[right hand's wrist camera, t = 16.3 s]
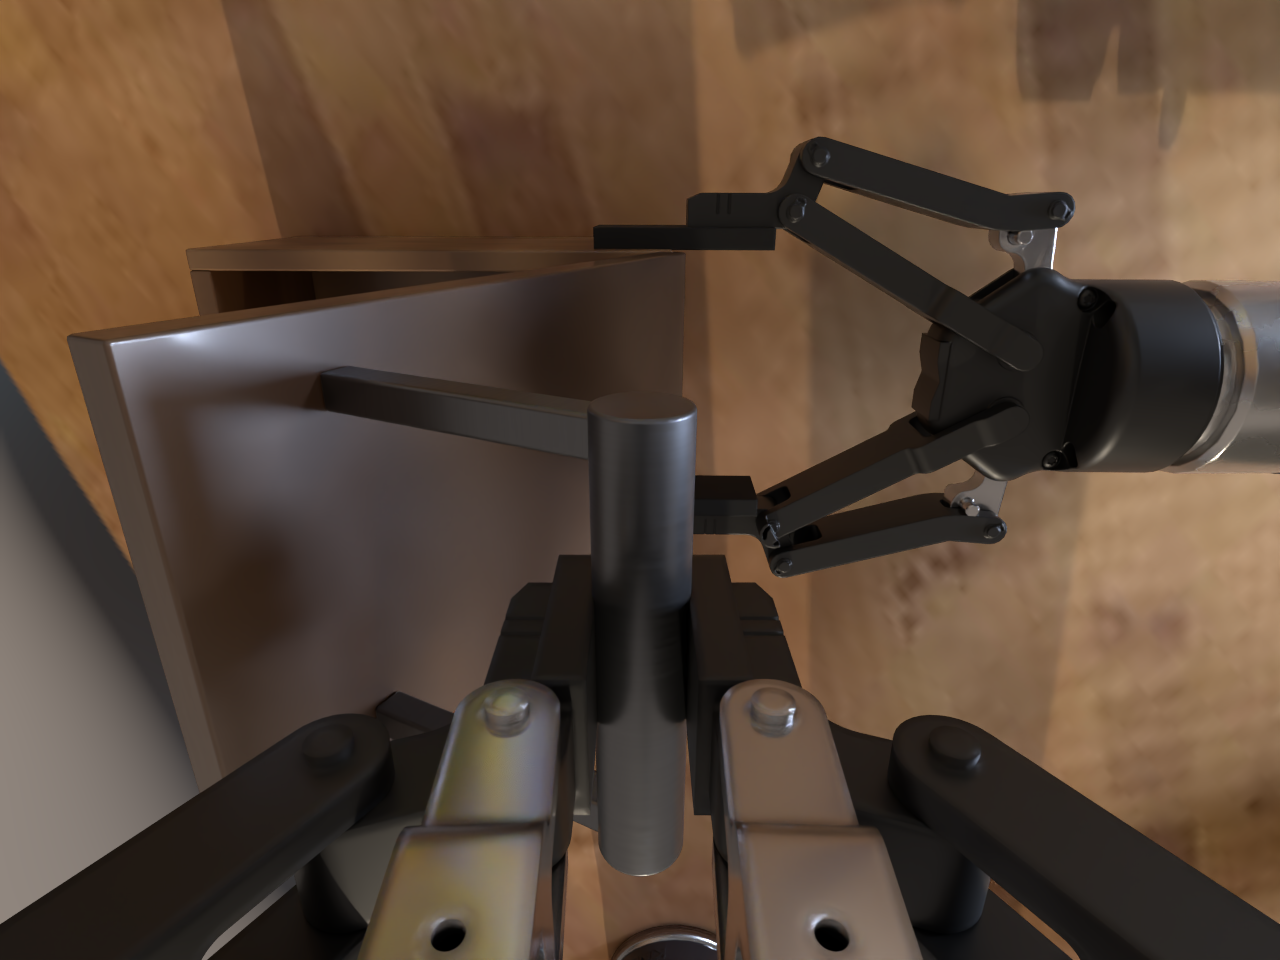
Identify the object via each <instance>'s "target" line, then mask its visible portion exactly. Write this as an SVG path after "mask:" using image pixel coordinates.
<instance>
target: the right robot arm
mask: <svg viewBox="0 0 1280 960" xmlns="http://www.w3.org/2000/svg"><path fill="white" fill-rule="evenodd" d="M597 724H598V714H597V677H596V639H595V601H594V599H593V597H592V578H591V555H559V556H558V560H557V565H556V569H555V574H554V578H553V582H530V583H527V584H526V585H525V586H524V587H523V588H522V589H521V590H520V591H518V592H517V593H516V594H515V595H514V596H513V597H512V598H511V600H510V603H509V607H508V610H507V613H506V616H505V620H504V622H503V625H502V629H501V635H500V636H499V638H498V641H497V644H496V648H495V651H494V654H493V657H492V660H491V663H490V666H489V670H488V673H487V676H486V679H485V682H484V685H483V686H481V687H479V688H477V689H476V690H474V691H472V692H471V693H470V694H468V695H467V696H466V697H465V698H464V699H463V700H462V701H461V702H460V703H459V705H458V706H457V708H456V710H455V713H454V716H453V719H452V722H451V723H450V724H448V725H446V726H444V727H441V728H439V729H436V730H433V731H429V732H426V733H422V734H418V735H413V736H409V737H405V738H400V739H396V740H392V741H390V737H389V732H388V730H387V728H386V726H385V725H384V724H383V723H382V722H381V721H379V720H378V719H376V718H374V717H371V716H368V715H364V714H355V713H348V714H338V715H332V716H328V717H324V718H321V719H318V720H315V721H313V722H311V723H308V724H306V725H304V726H302V727H301V728H299V729H297V730H296V731H294V732H292V733H291V734H289V735H288V736H286V737H285V738H283V739H282V740H280V741H279V742H277V743H276V744H274V745H273V746H271V747H270V748H268V749H267V750H265V751H263V752H262V753H260V754H259V755H257V756H256V757H254V758H253V759H251V760H250V761H248V762H247V763H245V764H244V765H242V766H241V767H239V768H238V769H236V770H235V771H233V772H232V773H230V774H228V775H227V776H225V777H224V778H222V779H221V780H219V781H218V782H216V783H215V784H213V785H212V786H210V787H209V788H207V789H206V790H204V791H203V792H201V793H200V794H198V795H196V796H195V797H193V798H192V799H190V800H189V801H187V802H186V803H184V804H183V805H181V806H180V807H178V808H177V809H175V810H174V811H172V812H171V813H169V814H168V815H166V816H164V817H163V818H161V819H160V820H158V821H157V822H155V823H154V824H152V825H151V826H149V827H148V828H146V829H145V830H143V831H142V832H140V833H139V834H137V835H136V836H134V837H132V838H131V839H129V840H128V841H126V842H125V843H123V844H122V845H120V846H119V847H117V848H116V849H114V850H113V851H111V852H110V853H108V854H107V855H105V856H104V857H102V858H101V859H99V860H97V861H96V862H94V863H93V864H91V865H90V866H88V867H87V868H85V869H84V870H82V871H81V872H79V873H78V874H76V875H75V876H73V877H72V878H70V879H69V880H67V881H66V882H64V883H63V884H61V885H59V886H58V887H56V888H55V889H53V890H52V891H50V892H49V893H47V894H46V895H44V896H43V897H41V898H40V899H38V900H37V901H35V902H33V903H32V904H31V905H29V906H27V907H26V908H24V909H23V910H21V911H20V912H18V913H17V914H15V915H14V916H12V917H11V918H9V919H8V920H6V921H5V922H3V923H1V924H0V960H202V958H203V956H204V955H205V953H206V952H207V950H208V949H209V947H210V946H211V945H212V944H213V942H214V941H215V940H216V939H217V938H218V937H219V936H220V935H221V934H223V933H224V932H225V931H226V930H227V929H228V928H230V927H231V926H232V925H233V924H234V923H236V922H237V921H238V920H239V919H240V918H242V917H243V916H244V915H245V914H246V913H248V912H249V911H250V910H251V909H252V908H254V907H255V906H256V905H257V904H259V903H260V902H261V901H262V900H263V899H265V898H266V897H267V896H268V895H269V894H271V893H272V892H273V891H274V890H275V889H277V888H278V887H279V886H280V885H281V884H283V883H284V882H285V881H286V880H287V879H288V878H290V877H291V876H292V875H293V874H294V877H295V881H296V885H295V886H294V887H293V888H292V889H290V890H289V891H288V892H287V893H286V894H284V895H283V896H282V897H281V898H280V899H279V900H277V901H276V902H275V903H274V904H273V905H271V906H270V907H269V908H268V909H267V910H265V911H264V912H263V913H262V914H261V915H260V916H258V917H257V918H256V919H255V920H254V921H252V922H251V923H250V924H249V925H248V926H247V927H245V928H244V929H243V930H242V931H241V932H239V933H238V934H237V935H236V936H235V937H234V938H232V939H231V940H230V941H229V942H228V943H227V944H225V945H224V946H223V947H222V948H221V949H219V950H218V951H217V952H216V953H215V954H213V955H212V956H211V957H210V958H209V959H208V960H562V959H563V942H564V925H565V908H566V892H567V875H568V850H567V849H568V846H569V844H570V840H571V835H572V825H573V816H574V815H590V813H591V800H592V787H593V775H594V762H595V749H596V737H597ZM686 726H687V738H688V750H689V761H690V773H691V785H692V796H693V808H694V815H711V819H712V828H713V850H712V875H713V892H714V909H715V926H716V935H715V934H713V933H711V932H709V931H706V930H703V929H700V928H695V927H690V926H681V925H669V926H660V927H655V928H651V929H647V930H644V931H642V932H639V933H637V934H635V935H633V936H632V937H630V938H629V939H627V940H626V941H625V942H624V943H622V944H621V945H620V947H619V948H618V949H617V950H616V952H615V953H614V955H613V958H612V960H1072V959H1071V958H1070V957H1069V956H1068V955H1067V954H1065V953H1064V952H1063V951H1062V950H1061V949H1059V948H1058V947H1057V946H1056V945H1055V944H1054V943H1052V942H1051V941H1050V940H1049V939H1048V938H1046V937H1045V936H1044V935H1043V934H1042V933H1041V932H1039V931H1038V930H1037V929H1036V928H1035V927H1033V926H1032V925H1031V924H1030V923H1029V922H1028V921H1026V920H1025V919H1024V918H1023V917H1022V916H1020V915H1019V914H1018V913H1017V912H1016V911H1015V910H1013V909H1012V908H1011V907H1010V906H1009V905H1007V904H1006V903H1005V902H1004V901H1003V900H1002V899H1000V898H999V897H998V896H997V895H996V894H994V893H993V892H992V891H991V890H990V889H989V888H988V887H989V883H990V879H993V880H994V881H995V882H996V883H997V884H999V885H1000V886H1001V887H1002V888H1003V889H1005V890H1006V891H1007V892H1008V893H1009V894H1011V895H1012V896H1013V897H1014V898H1015V899H1017V900H1018V901H1019V902H1020V903H1022V904H1023V905H1024V906H1025V907H1026V908H1028V909H1029V910H1030V911H1031V912H1032V913H1034V914H1035V915H1036V916H1037V917H1038V918H1040V919H1041V920H1042V921H1043V922H1044V923H1046V924H1047V925H1048V926H1049V927H1050V928H1052V929H1053V930H1054V931H1055V932H1056V933H1058V934H1059V935H1060V936H1061V937H1062V938H1063V939H1064V940H1065V941H1066V942H1067V943H1068V944H1069V945H1070V946H1071V947H1072V948H1073V950H1074V951H1075V952H1076V953H1077V955H1078V956H1079V958H1080V960H1280V924H1279V923H1277V922H1275V921H1274V920H1272V919H1271V918H1269V917H1268V916H1266V915H1265V914H1263V913H1262V912H1260V911H1259V910H1257V909H1256V908H1254V907H1253V906H1251V905H1250V904H1248V903H1247V902H1245V901H1243V900H1242V899H1240V898H1239V897H1237V896H1236V895H1234V894H1233V893H1231V892H1230V891H1228V890H1227V889H1225V888H1224V887H1222V886H1221V885H1219V884H1218V883H1216V882H1215V881H1213V880H1212V879H1210V878H1208V877H1207V876H1205V875H1204V874H1202V873H1201V872H1199V871H1198V870H1196V869H1195V868H1193V867H1192V866H1190V865H1189V864H1187V863H1186V862H1184V861H1183V860H1181V859H1180V858H1178V857H1176V856H1175V855H1173V854H1172V853H1170V852H1169V851H1167V850H1166V849H1164V848H1163V847H1161V846H1160V845H1158V844H1157V843H1155V842H1154V841H1152V840H1151V839H1149V838H1148V837H1146V836H1144V835H1143V834H1141V833H1140V832H1138V831H1137V830H1135V829H1134V828H1132V827H1131V826H1129V825H1128V824H1126V823H1125V822H1123V821H1122V820H1120V819H1119V818H1117V817H1116V816H1114V815H1112V814H1111V813H1109V812H1108V811H1106V810H1105V809H1103V808H1102V807H1100V806H1099V805H1097V804H1096V803H1094V802H1093V801H1091V800H1090V799H1088V798H1087V797H1085V796H1084V795H1082V794H1080V793H1079V792H1077V791H1076V790H1074V789H1073V788H1071V787H1070V786H1068V785H1067V784H1065V783H1064V782H1062V781H1061V780H1059V779H1058V778H1056V777H1055V776H1053V775H1052V774H1050V773H1049V772H1047V771H1045V770H1044V769H1042V768H1041V767H1039V766H1038V765H1036V764H1035V763H1033V762H1032V761H1030V760H1029V759H1027V758H1026V757H1024V756H1023V755H1021V754H1020V753H1018V752H1017V751H1015V750H1013V749H1012V748H1010V747H1009V746H1007V745H1006V744H1004V743H1003V742H1001V741H1000V740H998V739H997V738H995V737H994V736H992V735H991V734H989V733H988V732H986V731H984V730H982V729H981V728H979V727H977V726H975V725H973V724H970V723H968V722H965V721H962V720H960V719H956V718H952V717H947V716H940V715H924V716H917V717H913V718H911V719H908V720H906V721H904V722H903V723H901V724H900V725H899V726H898V728H897V729H896V731H895V733H894V736H893V740H889V739H884V738H880V737H876V736H871V735H867V734H863V733H859V732H855V731H852V730H849V729H846V728H843V727H841V726H839V725H837V724H835V723H833V722H831V721H829V720H828V719H827V716H826V713H825V710H824V708H823V706H822V705H821V703H820V702H819V701H818V700H817V699H816V698H815V697H814V696H813V695H812V694H810V693H809V692H808V691H806V690H804V689H803V688H802V687H801V684H800V681H799V677H798V674H797V671H796V668H795V665H794V662H793V659H792V656H791V653H790V650H789V647H788V644H787V641H786V638H785V636H784V634H783V629H782V626H781V622H780V620H779V616H778V613H777V610H776V607H775V604H774V601H773V598H772V597H771V596H769V595H768V594H767V593H766V592H765V591H764V590H763V589H762V588H761V587H760V586H759V585H757V584H756V583H731V579H730V575H729V571H728V566H727V562H726V558H725V555H692V584H691V597H690V599H689V630H688V663H687V696H686Z"/></svg>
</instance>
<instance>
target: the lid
mask: <svg viewBox="0 0 1280 960" xmlns="http://www.w3.org/2000/svg"><path fill="white" fill-rule="evenodd" d="M685 259H686V254H685V253H684V252H655V253H648V254H640V255H633V256H626V257H619V258H612V259H605V260H597V261H590V262H583V263H576V264H569V265H562V266H554V267H547V268H540V269H533V270H526V271H519V272H511V273H504V274H497V275H490V276H483V277H476V278H468V279H461V280H454V281H447V282H440V283H432V284H425V285H418V286H411V287H404V288H397V289H389V290H382V291H375V292H368V293H361V294H354V295H346V296H339V297H332V298H325V299H318V300H311V301H303V302H296V303H289V304H282V305H275V306H268V307H260V308H253V309H246V310H239V311H232V312H225V313H217V314H210V315H203V316H196V317H189V318H182V319H174V320H167V321H160V322H153V323H146V324H139V325H131V326H124V327H117V328H110V329H103V330H96V331H88V332H81V333H74V334H71V335H69V336H67V342H68V345H69V348H70V352H71V355H72V359H73V362H74V365H75V369H76V372H77V376H78V379H79V382H80V386H81V389H82V393H83V396H84V400H85V403H86V406H87V410H88V413H89V417H90V420H91V423H92V427H93V430H94V434H95V437H96V441H97V444H98V447H99V451H100V454H101V458H102V461H103V464H104V468H105V471H106V475H107V478H108V481H109V485H110V488H111V492H112V495H113V499H114V502H115V505H116V509H117V512H118V516H119V519H120V522H121V526H122V529H123V533H124V536H125V540H126V543H127V546H128V550H129V553H130V557H131V560H132V563H133V567H134V570H135V574H136V577H137V580H138V584H139V587H140V591H141V594H142V597H143V601H144V604H145V608H146V611H147V615H148V618H149V621H150V625H151V628H152V631H153V635H154V638H155V642H156V645H157V649H158V652H159V656H160V659H161V662H162V666H163V669H164V673H165V676H166V679H167V683H168V686H169V690H170V693H171V697H172V700H173V703H174V707H175V710H176V714H177V717H178V720H179V724H180V727H181V731H182V734H183V737H184V741H185V744H186V748H187V751H188V755H189V758H190V761H191V765H192V768H193V772H194V775H195V778H196V782H197V785H198V789H199V792H200V793H201V792H203V791H204V790H206V789H207V788H209V787H210V786H212V785H213V784H215V783H216V782H218V781H219V780H221V779H222V778H224V777H225V776H227V775H228V774H230V773H232V772H233V771H235V770H236V769H238V768H239V767H241V766H242V765H244V764H245V763H247V762H248V761H250V760H251V759H253V758H254V757H256V756H257V755H259V754H260V753H262V752H263V751H265V750H267V749H268V748H270V747H271V746H273V745H274V744H276V743H277V742H279V741H280V740H282V739H283V738H285V737H286V736H288V735H289V734H291V733H292V732H294V731H296V730H297V729H299V728H301V727H302V726H304V725H306V724H308V723H311V722H313V721H315V720H318V719H321V718H324V717H328V716H332V715H338V714H348V713H355V714H364V715H368V716H371V717H374V718H376V719H378V720H379V721H381V722H382V723H383V724H384V725H385V726H386V728H387V730H388V732H389V737H390V741H392V740H396V739H400V738H405V737H409V736H413V735H418V734H422V733H426V732H429V731H433V730H436V729H439V728H441V727H444V726H446V725H448V724H450V723H451V722H452V719H453V716H454V713H452V712H453V711H455V710H456V708H457V706H458V705H459V703H460V702H461V701H462V700H463V699H464V698H465V697H466V696H467V695H468V694H470V693H471V692H472V691H474V690H476V689H477V688H479V687H481V686H483V685H484V682H485V679H486V676H487V673H488V670H489V666H490V663H491V660H492V657H493V654H494V651H495V648H496V644H497V641H498V638H499V636H500V635H501V629H502V625H503V622H504V620H505V616H506V613H507V610H508V607H509V603H510V600H511V598H512V597H513V596H514V595H515V594H516V593H517V592H518V591H520V590H521V589H522V588H523V587H524V586H525V585H526V584H527V583H530V582H553V578H554V574H555V569H556V565H557V560H558V556H559V555H591V578H592V597H593V599H594V601H595V639H596V677H597V714H598V724H597V737H596V769H597V771H595V770H594V775H593V787H592V800H591V813H590V815H574V816H573V821H575V822H577V823H579V824H582V825H584V826H586V827H588V828H590V829H593V830H595V831H597V832H598V842H599V848H600V851H601V853H602V855H603V857H604V858H605V860H606V861H607V862H608V863H609V864H610V865H611V866H612V867H613V868H615V869H616V870H618V871H620V872H622V873H625V874H628V875H632V876H650V875H654V874H657V873H660V872H662V871H664V870H665V869H667V868H668V867H670V866H671V865H672V864H673V863H674V862H675V860H676V859H677V858H678V856H679V854H680V852H681V850H682V846H683V829H684V798H685V767H686V737H687V726H686V696H687V663H688V630H689V599H690V597H691V584H692V553H693V523H694V492H695V462H696V431H697V408H696V405H695V404H694V402H692V401H691V400H689V399H687V398H684V397H682V381H683V340H684V299H685Z"/></svg>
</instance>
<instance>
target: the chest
mask: <svg viewBox="0 0 1280 960" xmlns="http://www.w3.org/2000/svg"><path fill="white" fill-rule="evenodd" d="M655 252H672V250H671V249H594V237H343V236H297V237H291V238H282V239H273V240H264V241H255V242H246V243H237V244H228V245H218V246H209V247H200V248H191V249H187V250H186V255H187V259H188V264H189V268H190V270H192V271H191V272H190V273H191V278H192V282H193V287H194V292H195V296H196V301H197V305H198V310H199V314H200V316H203V315H210V314H217V313H225V312H232V311H239V310H246V309H253V308H260V307H268V306H275V305H282V304H289V303H296V302H303V301H311V300H318V299H325V298H332V297H339V296H346V295H354V294H361V293H368V292H375V291H382V290H389V289H397V288H404V287H411V286H418V285H425V284H432V283H440V282H447V281H454V280H461V279H468V278H476V277H483V276H490V275H497V274H504V273H511V272H519V271H526V270H533V269H540V268H547V267H554V266H562V265H569V264H576V263H583V262H590V261H597V260H605V259H612V258H619V257H626V256H633V255H640V254H648V253H655Z"/></svg>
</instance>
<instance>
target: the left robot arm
mask: <svg viewBox="0 0 1280 960" xmlns="http://www.w3.org/2000/svg"><path fill="white" fill-rule="evenodd" d="M823 183H824V184H827V185H830V186H834V187H837V188H840V189H843V190H846V191H850V192H853V193H856V194H859V195H862V196H866V197H869V198H872V199H875V200H879V201H882V202H885V203H888V204H891V205H895V206H898V207H901V208H904V209H908V210H911V211H914V212H917V213H920V214H924V215H927V216H930V217H933V218H937V219H940V220H943V221H946V222H949V223H953V224H956V225H960V226H964V227H969V228H978V229H988V230H989V235H988V237H989V243H990V245H991V246H992V247H993V248H994V249H995V250H998V251H1003V252H1006V253H1008V254H1009V255H1010V256H1011V257H1012V259H1013V262H1014V268H1013V269H1011V270H1009V271H1008V272H1006V273H1004V274H1003V275H1001V276H1000V277H998V278H997V279H995V280H994V281H992V282H991V283H989V284H988V285H986V286H985V287H983V288H981V289H980V290H978V291H977V292H975V293H974V294H972V295H971V296H969V297H967V296H966V295H964V294H962V293H961V292H959V291H957V290H955V289H953V288H951V287H949V286H947V285H946V284H944V283H942V282H941V281H939V280H938V279H936V278H934V277H933V276H931V275H930V274H928V273H927V272H925V271H923V270H922V269H920V268H919V267H917V266H916V265H914V264H912V263H911V262H909V261H908V260H906V259H904V258H903V257H901V256H900V255H898V254H897V253H895V252H893V251H892V250H890V249H889V248H887V247H886V246H884V245H882V244H881V243H879V242H878V241H876V240H874V239H873V238H871V237H870V236H868V235H867V234H865V233H863V232H862V231H860V230H859V229H857V228H856V227H854V226H852V225H851V224H849V223H848V222H846V221H845V220H843V219H841V218H840V217H838V216H837V215H835V214H833V213H832V212H830V211H829V210H827V209H826V208H824V207H822V206H821V205H819V204H818V203H816V202H815V201H816V199H817V197H818V194H819V192H820V190H821V187H822V185H823ZM1074 211H1075V201H1074V200H1073V198H1072V196H1071V195H1069V194H1068V193H1064V192H1029V193H1015V194H1004V193H1000V192H997V191H994V190H991V189H988V188H985V187H981V186H978V185H975V184H972V183H969V182H966V181H962V180H959V179H956V178H953V177H950V176H947V175H943V174H940V173H937V172H934V171H931V170H928V169H924V168H921V167H918V166H915V165H912V164H909V163H905V162H902V161H899V160H896V159H893V158H890V157H886V156H883V155H880V154H877V153H874V152H871V151H867V150H864V149H861V148H858V147H855V146H852V145H848V144H845V143H842V142H839V141H836V140H833V139H829V138H826V137H817V138H814V139H810V140H808V141H805V142H803V143H801V144H799V145H798V146H796V147H795V148H794V150H793V151H792V153H791V157H790V163H789V165H788V168H787V170H786V172H785V175H784V177H783V179H782V181H781V183H780V184H779V185H778V187H777V188H775V189H774V190H773V191H770V192H768V193H699V194H697V195H695V196H692V197H690V198H688V199H687V205H686V225H598V226H595V227H593V234H594V249H671V250H775V239H776V229H783V230H785V231H786V232H788V233H790V234H791V235H793V236H795V237H796V238H798V239H799V240H801V241H803V242H804V243H806V244H807V245H809V246H811V247H812V248H814V249H815V250H817V251H819V252H820V253H822V254H824V255H825V256H827V257H828V258H830V259H832V260H833V261H835V262H836V263H838V264H840V265H841V266H843V267H844V268H846V269H848V270H849V271H851V272H852V273H854V274H856V275H857V276H859V277H861V278H862V279H864V280H865V281H867V282H869V283H870V284H872V285H873V286H875V287H877V288H878V289H880V290H881V291H883V292H885V293H886V294H888V295H890V296H891V297H893V298H894V299H896V300H898V301H899V302H901V303H902V304H904V305H905V306H906V307H908V308H909V309H911V310H912V311H914V312H916V313H917V314H919V315H921V316H922V317H924V318H925V319H927V320H929V321H930V322H932V323H933V324H932V325H931V327H930V329H929V331H928V333H922V338H921V345H920V359H921V367H922V372H921V374H920V377H919V379H918V381H917V384H916V386H915V388H914V393H913V400H912V408H913V409H914V410H916V411H915V412H913V413H911V414H909V415H907V416H905V417H903V418H901V419H899V420H897V421H895V422H893V423H892V424H891V425H890V427H889V428H888V430H886V431H885V432H883V433H881V434H879V435H877V436H875V437H873V438H871V439H869V440H866V441H864V442H862V443H860V444H858V445H856V446H854V447H852V448H850V449H848V450H846V451H844V452H842V453H840V454H838V455H836V456H834V457H832V458H830V459H828V460H826V461H824V462H821V463H819V464H817V465H815V466H813V467H811V468H809V469H807V470H805V471H803V472H801V473H799V474H797V475H795V476H793V477H791V478H789V479H787V480H785V481H783V482H781V483H779V484H777V485H774V486H772V487H770V488H768V489H766V490H764V491H762V492H760V493H758V494H757V495H756V493H755V490H754V487H753V484H752V481H751V478H750V476H702V475H695V492H694V523H693V534H732V535H751V536H754V537H756V538H757V539H758V540H759V541H760V542H761V544H762V546H763V548H764V551H765V554H766V557H767V560H768V563H769V567H770V569H771V571H772V573H773V574H774V575H775V576H777V577H781V578H785V577H791V576H795V575H800V574H804V573H808V572H813V571H817V570H822V569H826V568H831V567H835V566H839V565H844V564H848V563H853V562H857V561H862V560H866V559H870V558H875V557H879V556H884V555H888V554H893V553H897V552H901V551H906V550H910V549H915V548H919V547H923V546H928V545H932V544H937V543H941V542H946V541H958V542H970V543H982V544H994V543H997V542H999V541H1000V540H1001V539H1003V538H1004V536H1005V534H1006V532H1007V526H1006V524H1005V522H1004V521H1003V520H1002V519H1001V518H1000V517H998V512H999V509H1000V506H1001V502H1002V499H1003V495H1004V492H1005V488H1006V485H1007V481H1010V480H1013V479H1016V478H1018V477H1020V476H1022V475H1025V474H1027V473H1030V472H1034V471H1039V470H1050V471H1064V472H1154V471H1157V470H1160V471H1165V472H1169V473H1273V474H1280V281H1211V280H1201V281H1187V282H1184V283H1180V282H1177V281H1173V280H1089V279H1068V278H1066V277H1064V276H1063V275H1061V274H1060V273H1058V272H1057V271H1055V270H1053V269H1052V264H1053V256H1054V248H1055V241H1056V233H1057V228H1059V227H1062V226H1064V225H1065V224H1067V223H1068V222H1069V221H1070V219H1071V218H1072V217H1073V214H1074ZM960 459H963V460H964V461H965V462H966V463H968V464H969V465H970V466H972V467H973V468H974V469H975V473H974V475H973V476H972V477H971V478H970V479H969V480H968V481H965V482H963V483H957V484H949V485H947V486H946V487H945V489H944V491H945V493H929V494H921V495H915V496H911V497H907V498H902V499H898V500H894V501H889V502H885V503H881V504H877V505H872V506H868V507H864V508H860V509H855V510H851V511H847V512H843V513H838V514H834V515H830V516H827V515H829V514H831V513H833V512H835V511H838V510H840V509H842V508H844V507H846V506H848V505H850V504H852V503H855V502H857V501H859V500H861V499H863V498H865V497H867V496H869V495H871V494H874V493H876V492H878V491H880V490H882V489H884V488H886V487H888V486H891V485H893V484H895V483H897V482H899V481H901V480H903V479H905V478H907V477H910V476H912V475H914V474H918V473H923V474H926V473H931V472H934V471H936V470H938V469H940V468H943V467H945V466H947V465H949V464H951V463H953V462H955V461H957V460H960ZM825 516H826V517H825Z"/></svg>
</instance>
